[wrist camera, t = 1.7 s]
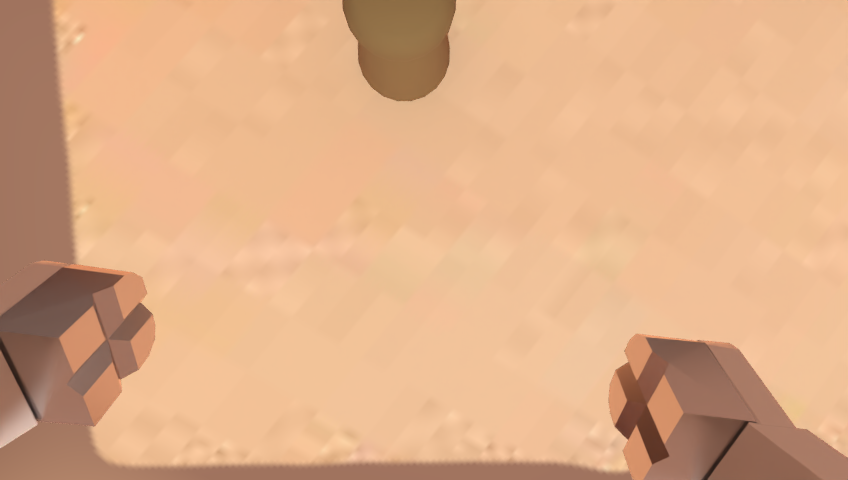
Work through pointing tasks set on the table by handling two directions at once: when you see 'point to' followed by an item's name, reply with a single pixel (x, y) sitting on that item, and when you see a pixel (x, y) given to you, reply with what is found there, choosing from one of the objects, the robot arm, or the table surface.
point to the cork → (401, 44)
